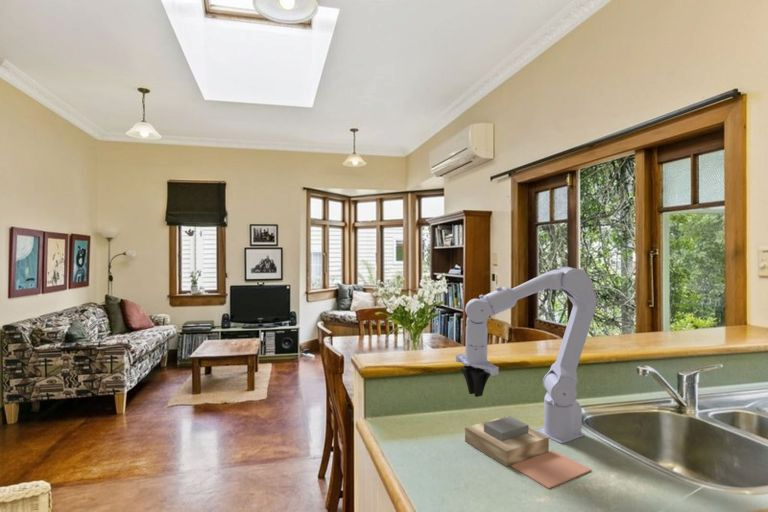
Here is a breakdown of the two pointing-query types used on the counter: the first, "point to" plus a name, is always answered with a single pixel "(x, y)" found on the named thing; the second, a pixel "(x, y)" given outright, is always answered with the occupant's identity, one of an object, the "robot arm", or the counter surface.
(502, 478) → the counter surface
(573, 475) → the terracotta mat
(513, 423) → the slate tile
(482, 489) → the counter surface
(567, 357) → the robot arm
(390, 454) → the counter surface
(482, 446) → the birch deck
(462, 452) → the counter surface
